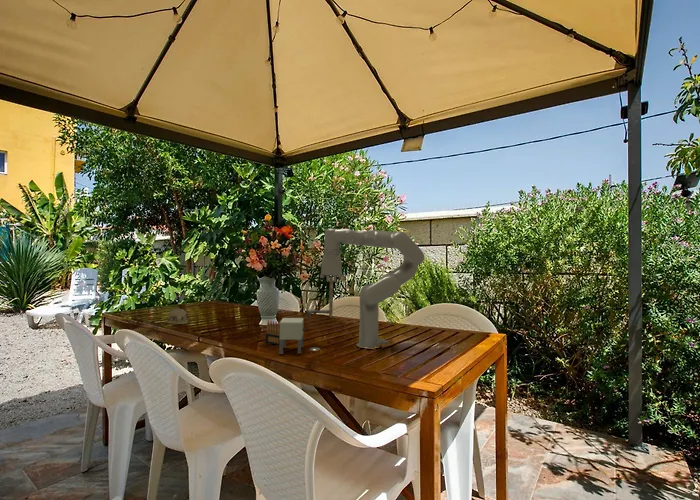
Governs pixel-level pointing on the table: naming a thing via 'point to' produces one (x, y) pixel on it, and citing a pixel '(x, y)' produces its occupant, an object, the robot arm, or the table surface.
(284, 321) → the cabinet
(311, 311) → the hook scraper
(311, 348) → the steel disc
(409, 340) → the table surface
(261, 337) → the table surface
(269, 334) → the ammunition clip
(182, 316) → the ceramic model
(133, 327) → the table surface
